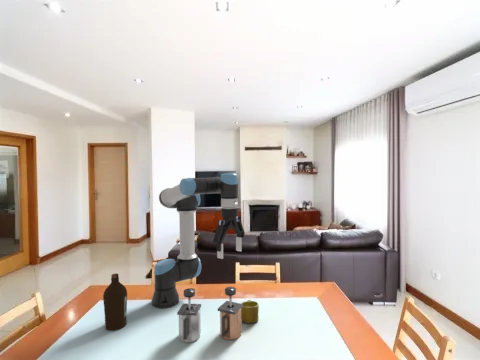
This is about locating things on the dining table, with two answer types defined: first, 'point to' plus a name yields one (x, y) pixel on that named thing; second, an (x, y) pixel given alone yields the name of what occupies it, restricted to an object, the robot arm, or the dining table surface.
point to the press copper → (230, 320)
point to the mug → (249, 311)
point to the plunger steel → (189, 296)
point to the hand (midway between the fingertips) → (229, 254)
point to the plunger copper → (230, 294)
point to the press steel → (189, 323)
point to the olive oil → (115, 304)
